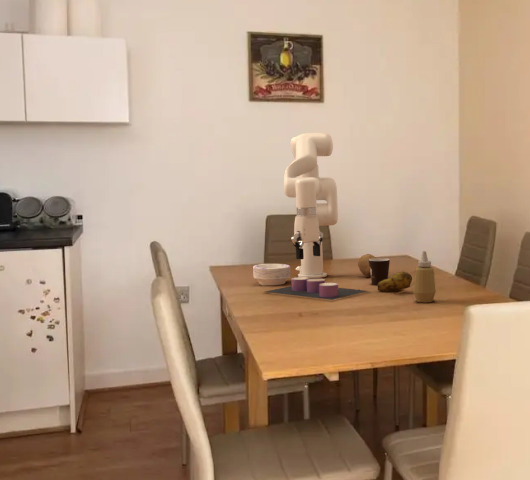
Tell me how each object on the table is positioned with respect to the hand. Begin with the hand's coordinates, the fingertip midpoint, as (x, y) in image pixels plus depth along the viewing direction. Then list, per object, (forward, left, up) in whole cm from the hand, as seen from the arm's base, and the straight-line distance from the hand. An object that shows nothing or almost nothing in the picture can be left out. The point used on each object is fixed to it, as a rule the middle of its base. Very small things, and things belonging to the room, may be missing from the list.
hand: (308, 257), depth 295 cm
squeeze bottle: (+48, +8, -14) cm, 50 cm away
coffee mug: (+10, +33, -14) cm, 37 cm away
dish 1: (-6, +2, -13) cm, 15 cm away
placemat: (+2, +2, -14) cm, 14 cm away
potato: (+28, +18, -14) cm, 36 cm away
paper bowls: (-27, +8, -14) cm, 32 cm away
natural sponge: (-5, +45, -14) cm, 47 cm away
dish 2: (+13, -4, -13) cm, 19 cm away
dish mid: (+2, +2, -13) cm, 13 cm away
